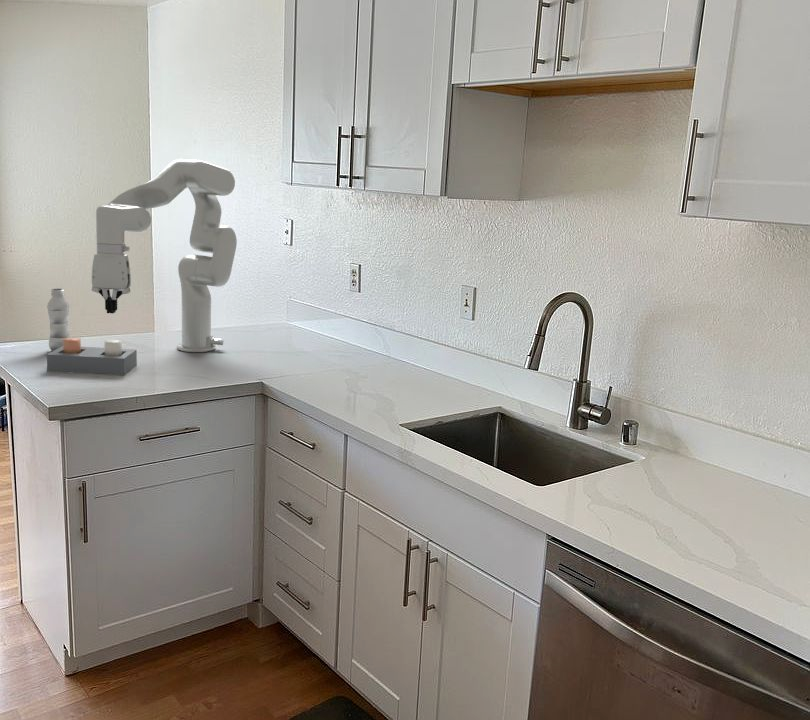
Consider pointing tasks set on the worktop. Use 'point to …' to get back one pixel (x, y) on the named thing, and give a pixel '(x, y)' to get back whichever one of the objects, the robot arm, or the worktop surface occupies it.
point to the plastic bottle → (58, 318)
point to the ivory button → (113, 347)
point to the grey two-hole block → (92, 361)
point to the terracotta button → (72, 345)
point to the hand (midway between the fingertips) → (111, 312)
